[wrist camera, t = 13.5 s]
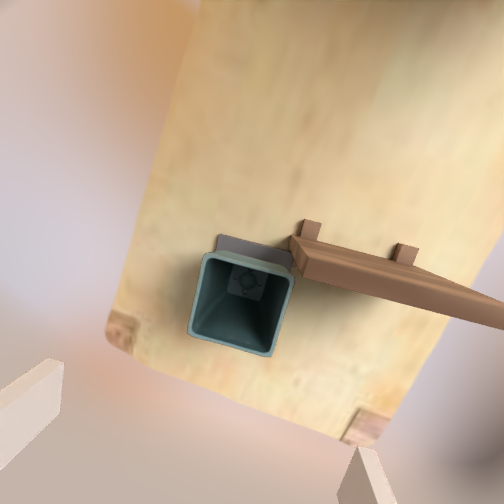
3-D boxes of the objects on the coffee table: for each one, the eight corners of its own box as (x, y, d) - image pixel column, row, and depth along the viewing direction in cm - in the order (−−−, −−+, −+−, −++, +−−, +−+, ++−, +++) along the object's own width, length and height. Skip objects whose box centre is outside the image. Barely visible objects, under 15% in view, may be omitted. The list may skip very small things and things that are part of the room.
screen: (296, 217, 30) (318, 226, 16) (422, 249, 29) (555, 286, 16) (283, 261, 31) (293, 306, 17) (404, 293, 30) (512, 364, 17)
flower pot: (222, 238, 30) (203, 251, 22) (289, 255, 30) (297, 276, 21) (208, 300, 32) (185, 335, 23) (271, 317, 32) (271, 359, 23)
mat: (220, 233, 31) (219, 234, 30) (294, 253, 31) (294, 253, 30) (204, 302, 33) (203, 304, 32) (274, 321, 33) (274, 323, 32)
